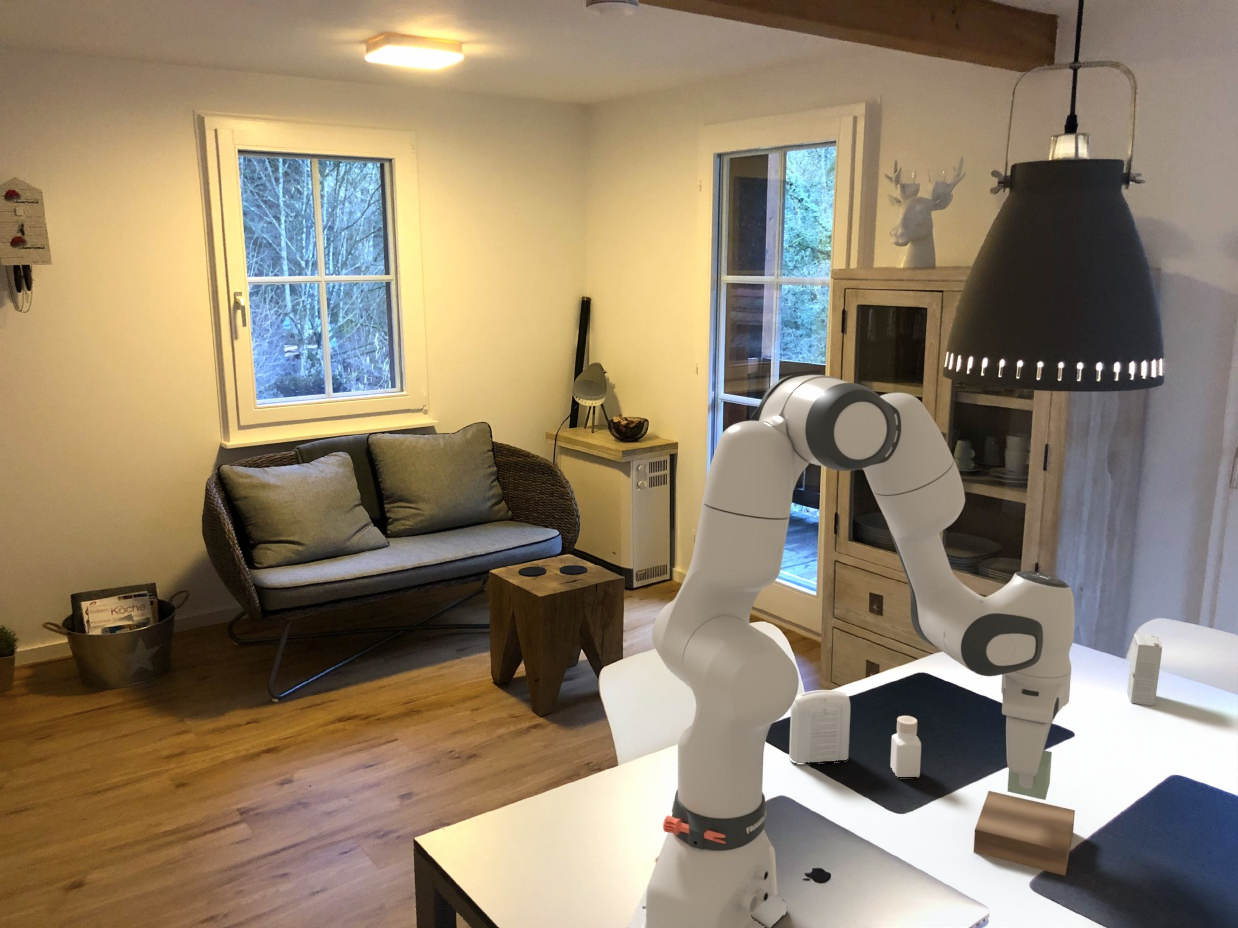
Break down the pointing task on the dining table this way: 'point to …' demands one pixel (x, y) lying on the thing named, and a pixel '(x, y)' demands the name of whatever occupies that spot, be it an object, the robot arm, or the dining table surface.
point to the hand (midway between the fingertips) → (1029, 775)
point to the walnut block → (1025, 832)
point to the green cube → (1040, 779)
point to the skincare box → (1144, 669)
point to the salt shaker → (906, 748)
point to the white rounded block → (819, 726)
